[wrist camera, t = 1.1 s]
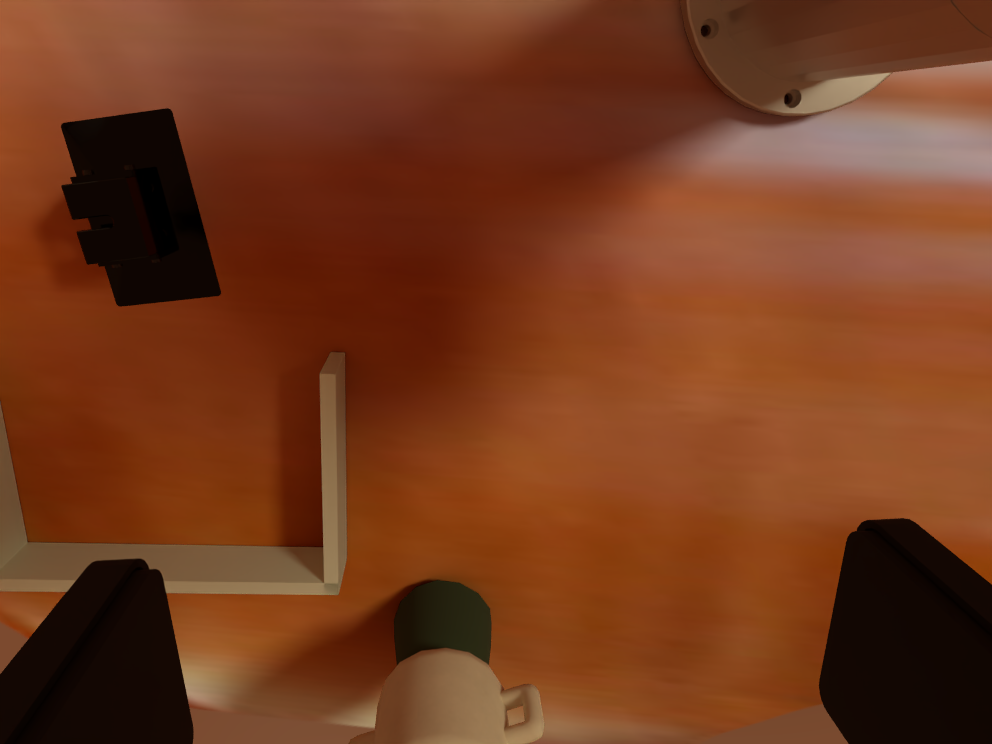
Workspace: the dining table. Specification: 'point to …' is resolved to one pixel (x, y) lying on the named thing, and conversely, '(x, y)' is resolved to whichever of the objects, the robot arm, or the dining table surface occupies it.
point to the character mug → (448, 677)
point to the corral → (198, 568)
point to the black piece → (138, 208)
